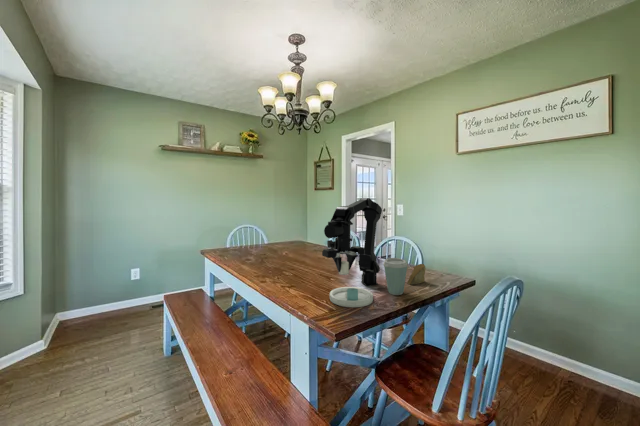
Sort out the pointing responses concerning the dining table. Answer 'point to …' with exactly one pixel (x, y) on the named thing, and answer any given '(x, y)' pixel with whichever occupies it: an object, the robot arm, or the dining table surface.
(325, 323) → the dining table surface
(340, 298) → the groove dish
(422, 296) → the dining table surface
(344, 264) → the cream bead
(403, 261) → the disposable coffee cup
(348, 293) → the teal bead
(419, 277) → the brown bread wedge
